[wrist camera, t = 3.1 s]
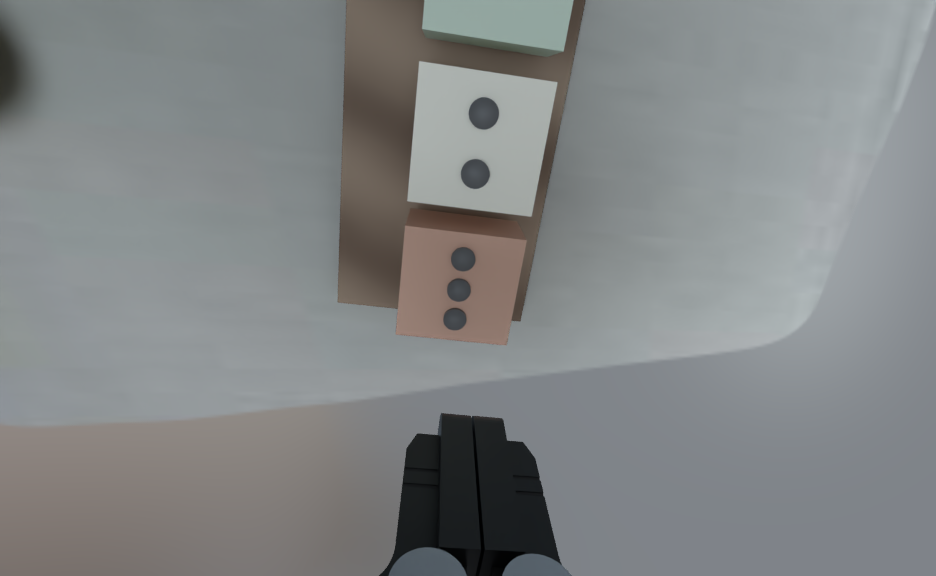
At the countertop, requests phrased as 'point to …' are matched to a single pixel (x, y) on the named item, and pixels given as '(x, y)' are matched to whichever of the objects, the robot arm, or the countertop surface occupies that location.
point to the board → (391, 133)
